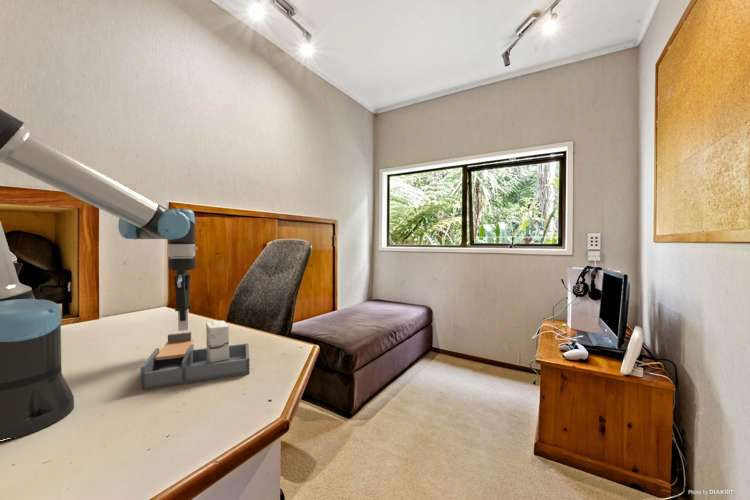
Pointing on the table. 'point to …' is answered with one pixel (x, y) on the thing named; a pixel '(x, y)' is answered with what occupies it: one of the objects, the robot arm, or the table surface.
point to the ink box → (217, 341)
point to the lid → (175, 346)
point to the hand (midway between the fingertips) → (183, 329)
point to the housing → (193, 367)
